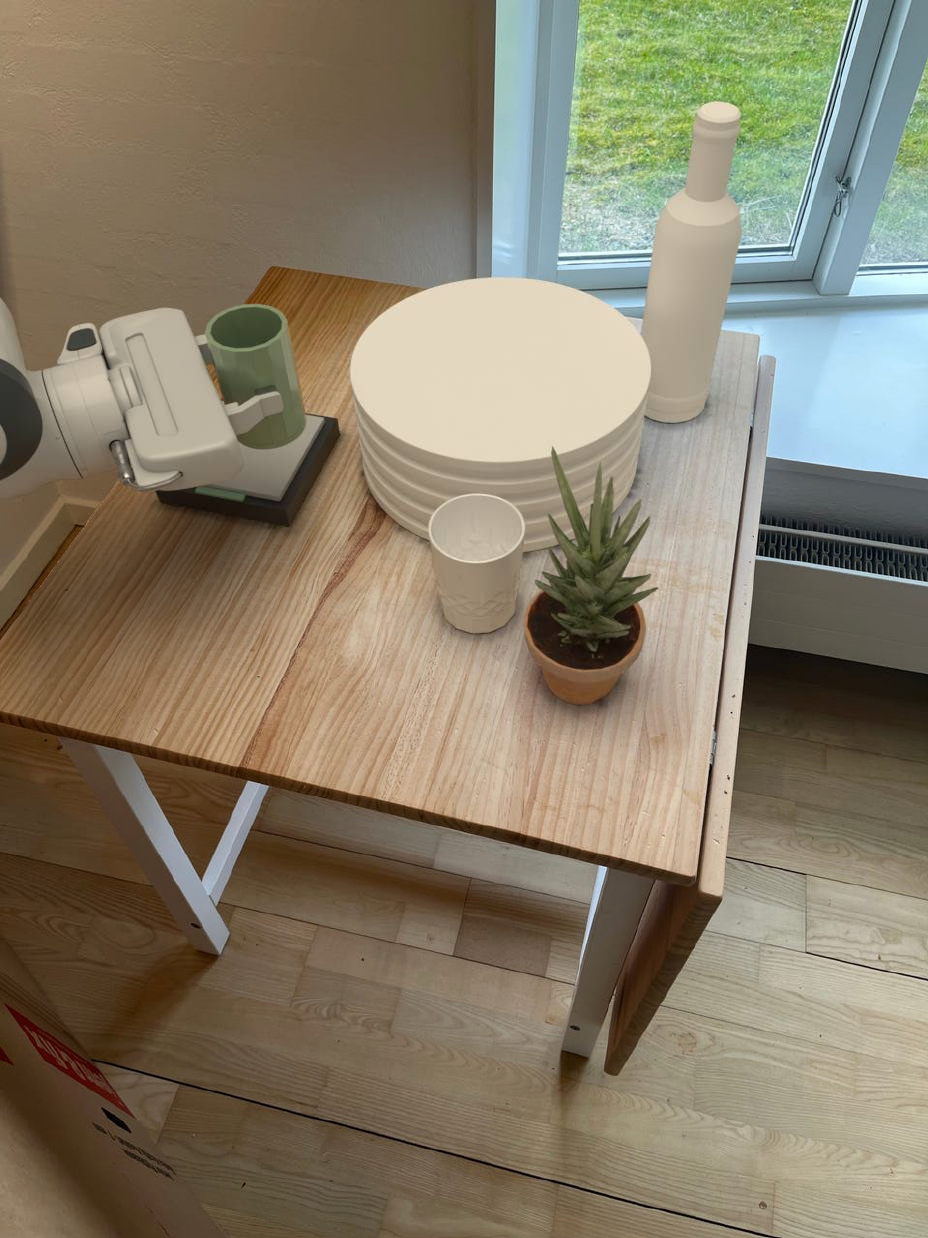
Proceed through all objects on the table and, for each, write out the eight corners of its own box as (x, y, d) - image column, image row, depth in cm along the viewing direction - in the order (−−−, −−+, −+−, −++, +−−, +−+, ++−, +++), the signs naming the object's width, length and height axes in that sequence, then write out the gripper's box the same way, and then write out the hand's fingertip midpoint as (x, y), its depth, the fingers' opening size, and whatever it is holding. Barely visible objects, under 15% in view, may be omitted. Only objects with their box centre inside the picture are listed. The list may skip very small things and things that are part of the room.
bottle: (645, 430, 99) (691, 136, 76) (621, 384, 104) (657, 95, 80) (717, 417, 100) (785, 123, 77) (690, 372, 105) (745, 83, 81)
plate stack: (559, 344, 109) (565, 251, 100) (689, 500, 92) (710, 406, 83) (327, 411, 102) (311, 318, 93) (423, 591, 86) (415, 500, 77)
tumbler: (245, 458, 81) (219, 360, 73) (223, 415, 84) (195, 317, 77) (316, 435, 82) (298, 336, 75) (291, 393, 86) (271, 295, 78)
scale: (289, 527, 92) (284, 505, 89) (159, 502, 94) (151, 480, 92) (340, 434, 100) (336, 412, 98) (219, 413, 103) (213, 392, 100)
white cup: (420, 624, 84) (412, 547, 76) (454, 562, 88) (450, 483, 80) (504, 650, 82) (504, 573, 74) (534, 585, 86) (538, 506, 78)
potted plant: (503, 653, 81) (505, 429, 62) (600, 616, 84) (631, 389, 64) (557, 744, 76) (578, 528, 56) (660, 702, 78) (714, 480, 59)
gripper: (111, 464, 68) (296, 412, 71) (68, 314, 80) (229, 275, 83) (137, 526, 73) (309, 475, 76) (93, 376, 85) (244, 337, 88)
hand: (267, 369), depth 79 cm, fingers closed on tumbler, 6 cm apart
